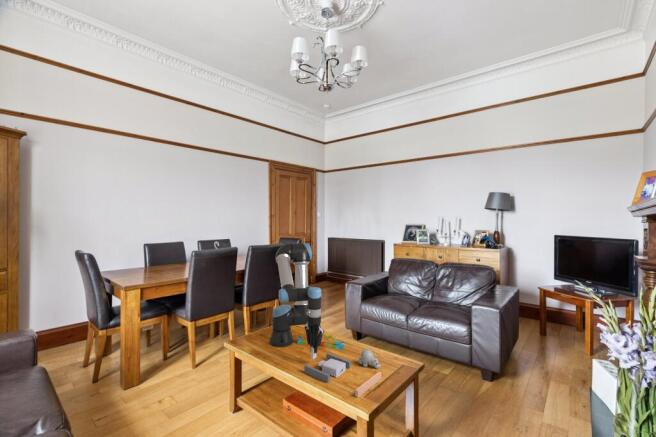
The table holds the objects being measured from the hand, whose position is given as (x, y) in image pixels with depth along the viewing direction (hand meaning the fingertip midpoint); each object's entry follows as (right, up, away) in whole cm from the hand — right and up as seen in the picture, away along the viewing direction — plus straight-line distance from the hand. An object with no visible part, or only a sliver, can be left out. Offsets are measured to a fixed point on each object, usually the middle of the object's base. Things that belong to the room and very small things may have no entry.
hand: (313, 358), depth 171 cm
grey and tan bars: (+15, -4, -12) cm, 19 cm away
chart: (+3, -4, +26) cm, 26 cm away
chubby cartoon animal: (+31, -4, -2) cm, 31 cm away
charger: (+9, -4, -6) cm, 11 cm away
